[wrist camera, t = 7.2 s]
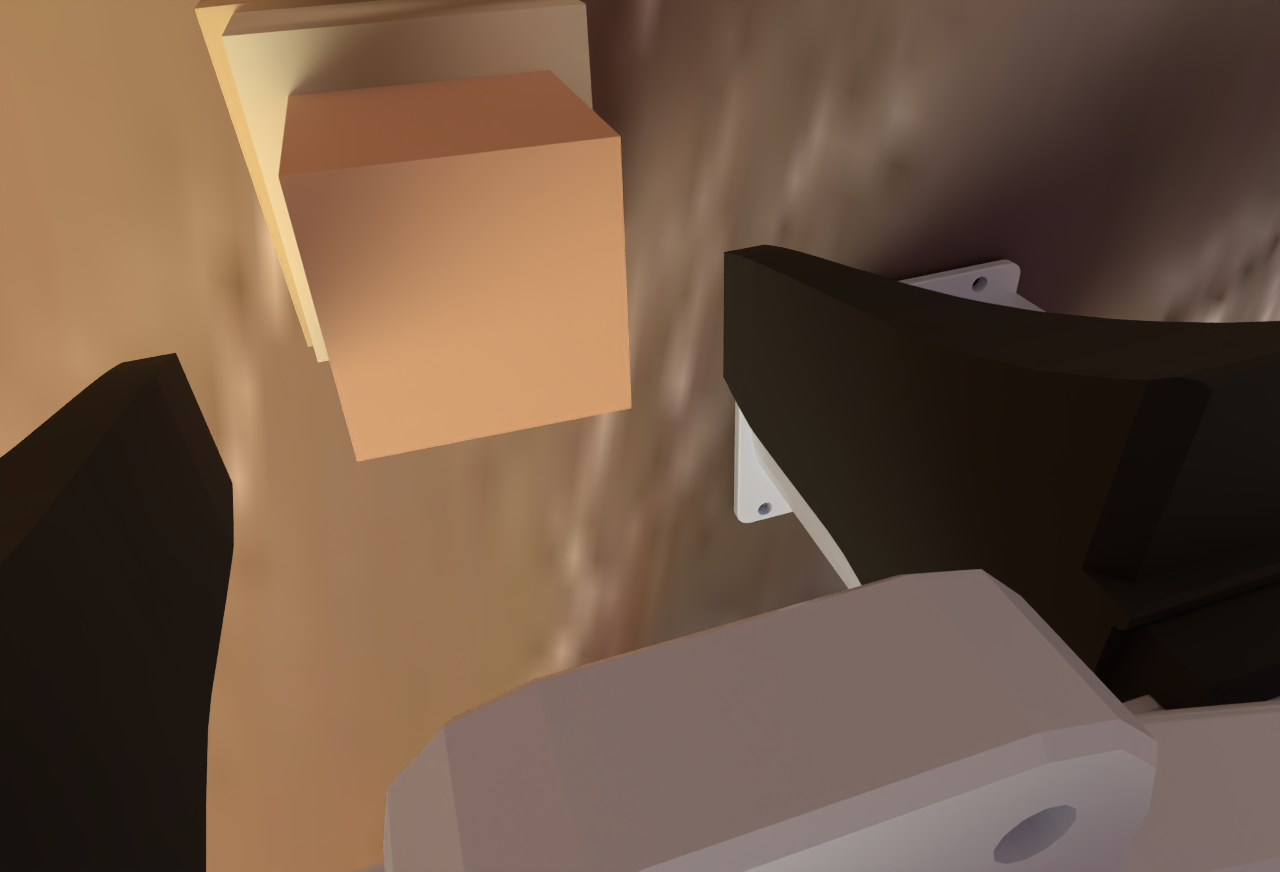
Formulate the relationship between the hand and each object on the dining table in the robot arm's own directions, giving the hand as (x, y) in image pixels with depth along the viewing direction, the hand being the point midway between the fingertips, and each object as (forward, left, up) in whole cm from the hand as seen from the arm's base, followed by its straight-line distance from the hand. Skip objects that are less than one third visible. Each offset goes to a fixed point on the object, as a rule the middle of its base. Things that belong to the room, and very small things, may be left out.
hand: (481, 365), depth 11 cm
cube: (0, 0, -6) cm, 6 cm away
